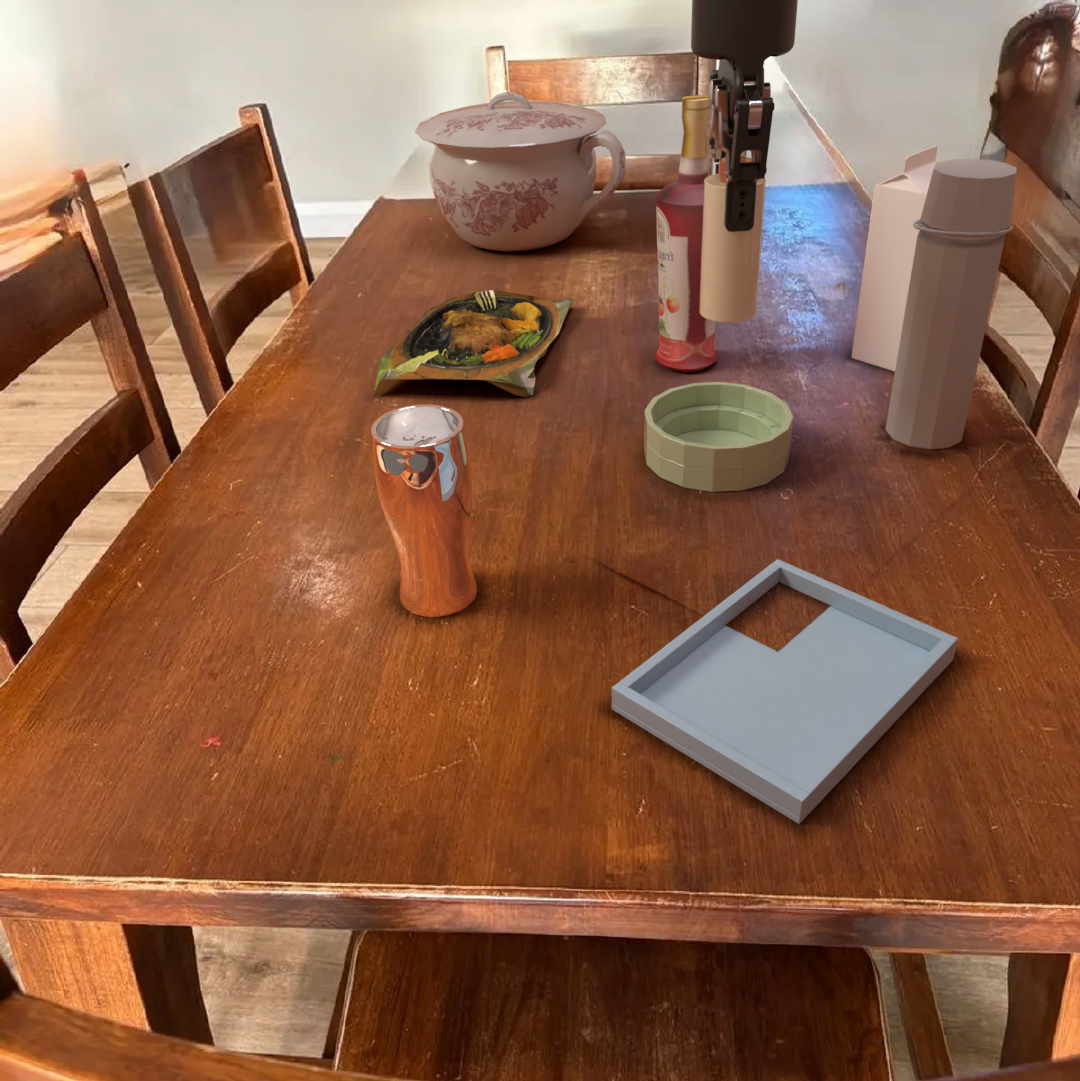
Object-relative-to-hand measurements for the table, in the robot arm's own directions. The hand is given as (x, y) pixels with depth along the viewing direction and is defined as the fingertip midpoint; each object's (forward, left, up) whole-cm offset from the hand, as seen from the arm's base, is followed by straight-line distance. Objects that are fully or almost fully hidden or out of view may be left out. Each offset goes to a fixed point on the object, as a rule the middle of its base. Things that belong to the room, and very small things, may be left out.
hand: (732, 218), depth 82 cm
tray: (+22, +21, -23) cm, 38 cm away
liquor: (-15, -16, -23) cm, 32 cm away
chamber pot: (-36, -64, -23) cm, 77 cm away
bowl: (0, -1, -23) cm, 23 cm away
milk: (-31, 0, -23) cm, 39 cm away
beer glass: (+31, -5, -23) cm, 39 cm away
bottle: (0, 0, -8) cm, 8 cm away
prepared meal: (-4, -38, -23) cm, 44 cm away
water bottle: (-17, +11, -23) cm, 31 cm away
